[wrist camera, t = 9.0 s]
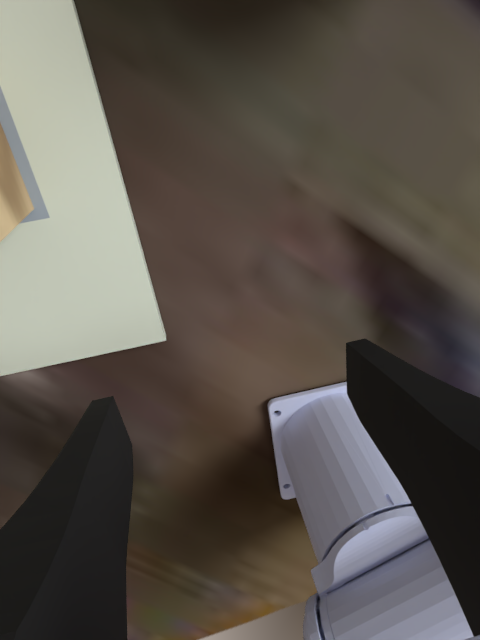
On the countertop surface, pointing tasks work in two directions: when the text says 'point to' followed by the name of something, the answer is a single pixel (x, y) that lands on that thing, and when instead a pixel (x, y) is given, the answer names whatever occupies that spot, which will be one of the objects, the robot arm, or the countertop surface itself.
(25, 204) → the oak block
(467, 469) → the robot arm
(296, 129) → the countertop surface
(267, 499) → the countertop surface
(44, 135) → the plate
